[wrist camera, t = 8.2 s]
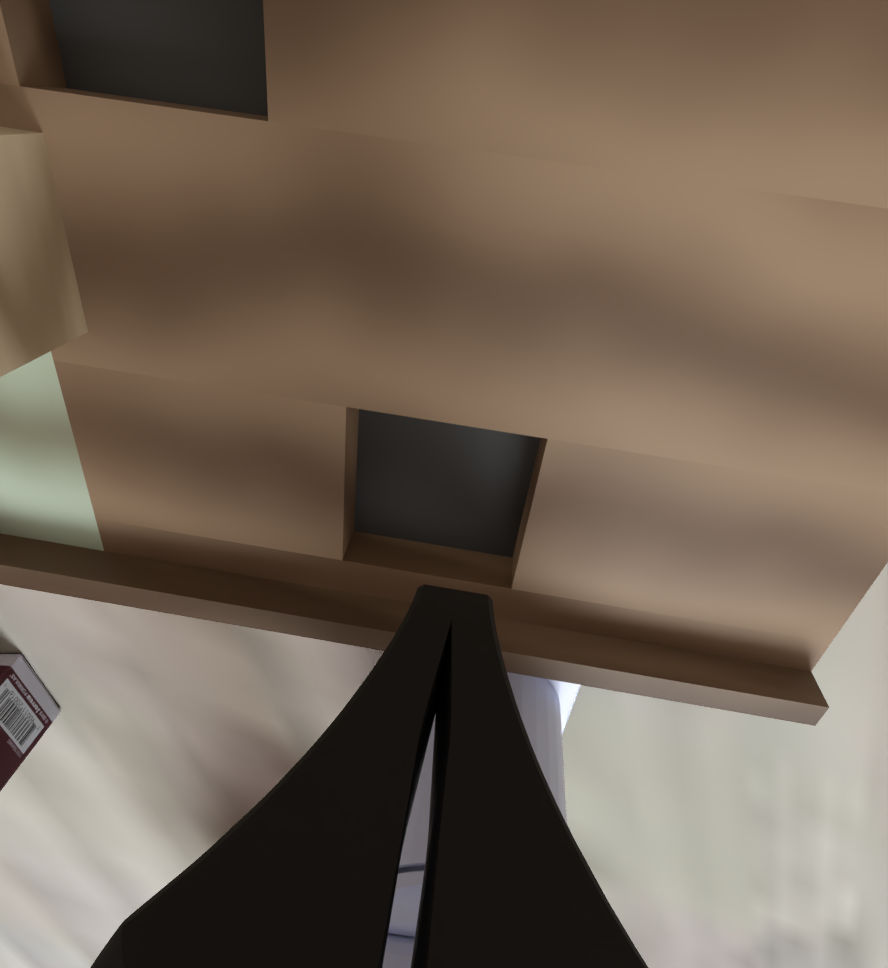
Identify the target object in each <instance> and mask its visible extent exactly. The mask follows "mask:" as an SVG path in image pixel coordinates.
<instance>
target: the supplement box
mask: <svg viewBox="0 0 888 968" xmlns="http://www.w3.org/2000/svg"><path fill="white" fill-rule="evenodd" d="M59 713H60V708H59V707H58V706H57V704H56V703H55V701H54V700H53V698H52V697H51V695H50V694H49V693H48V691H47V689H46V688H45V687H44V685H43V684H42V682H41V681H40V679H39V678H38V677H37V675H36V674H35V672H34V671H33V669H32V668H31V667H30V665H29V664H28V663H27V661H26V660H25V659H24V657H23V656H22V655H20V654H0V791H1V790H2V788H3V787H4V786H5V784H6V783H7V782H8V780H9V779H10V778H11V776H12V775H13V774H14V773H15V771H16V770H17V768H18V767H19V766H20V764H21V763H22V762H23V761H24V759H25V758H26V757H27V755H28V754H29V753H30V751H31V750H32V749H33V747H34V746H35V745H36V744H37V742H38V741H39V740H40V738H41V737H42V736H43V734H44V733H45V731H46V730H47V729H48V728H49V726H50V725H51V724H52V722H53V721H54V720H55V718H56V717H57V716H58V714H59Z"/></svg>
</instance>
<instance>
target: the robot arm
mask: <svg viewBox="0 0 888 968" xmlns="http://www.w3.org/2000/svg"><path fill="white" fill-rule="evenodd" d="M580 686H581V685H579V684H573V683H567V682H561V681H556V680H550V679H544V678H538V677H533V676H527V675H521V674H515V673H509V672H507V671H506V668H505V664H504V660H503V657H502V653H501V648H500V644H499V640H498V635H497V630H496V625H495V619H494V611H493V600H492V599H491V598H490V597H489V596H488V595H485V594H479V593H473V592H468V591H462V590H456V589H450V588H444V587H438V586H432V585H426V584H424V585H422V586H420V587H418V588H417V591H416V594H415V597H414V599H413V601H412V603H411V606H410V608H409V610H408V612H407V614H406V616H405V618H404V619H403V621H402V623H401V625H400V627H399V628H398V630H397V632H396V634H395V635H394V637H393V639H392V640H391V642H390V643H389V645H388V646H387V648H386V650H385V651H384V653H383V654H382V656H381V657H380V659H379V660H378V662H377V663H376V665H375V667H374V668H373V669H372V671H371V672H370V674H369V675H368V677H367V678H366V679H365V681H364V682H363V683H362V685H361V686H360V687H359V689H358V690H357V691H356V693H355V694H354V695H353V697H352V698H351V699H350V701H349V702H348V703H347V705H346V706H345V707H344V709H343V710H342V711H341V712H340V714H339V715H338V716H337V717H336V719H335V720H334V721H333V722H332V724H331V725H330V726H329V727H328V728H327V730H326V731H325V732H324V733H323V734H322V735H321V737H320V738H319V739H318V740H317V741H316V742H315V744H314V745H313V746H312V747H311V748H310V749H309V750H308V752H307V753H306V754H305V755H304V756H303V757H302V758H301V759H300V760H299V761H298V762H297V763H296V764H295V766H294V767H293V768H292V769H291V770H290V771H289V772H288V773H287V774H286V775H285V776H284V777H283V778H282V779H281V780H280V782H279V783H278V784H277V785H276V786H275V787H274V788H273V789H272V790H271V791H270V792H269V793H268V794H267V795H266V796H265V797H264V798H263V799H262V800H261V801H260V802H259V803H258V804H257V805H256V806H255V807H254V808H253V809H251V810H250V811H249V812H248V813H247V814H246V815H245V816H244V817H243V818H242V819H241V820H240V821H239V822H238V823H236V824H235V825H234V826H233V827H232V828H231V829H230V830H229V831H228V832H227V833H226V834H225V835H224V836H222V837H221V838H220V839H219V840H218V841H217V842H216V843H215V844H214V845H213V846H212V847H211V848H210V849H209V850H207V851H206V852H205V853H204V854H203V855H202V856H201V857H199V858H198V859H197V860H196V861H195V862H194V863H193V864H191V865H190V866H189V867H188V868H187V869H185V870H184V871H183V872H182V873H181V874H179V875H178V876H177V877H176V878H175V879H173V880H172V881H171V882H170V883H169V884H167V885H166V886H165V887H164V888H163V889H161V890H160V891H159V892H158V893H157V894H155V895H154V896H153V897H152V898H151V899H149V900H148V901H147V902H146V903H145V904H143V905H142V906H141V907H140V908H139V909H137V910H136V911H135V912H134V913H132V914H131V915H130V916H129V917H128V918H127V919H126V920H125V921H124V922H123V923H122V924H121V925H120V927H119V928H118V929H117V931H116V932H115V933H114V935H113V936H112V937H111V939H110V940H109V942H108V943H107V944H106V946H105V947H104V949H103V950H102V951H101V953H100V954H99V956H98V957H97V959H96V960H95V962H94V963H93V965H92V966H91V968H648V967H647V965H646V963H645V962H644V960H643V959H642V957H641V955H640V954H639V952H638V951H637V949H636V947H635V946H634V944H633V942H632V941H631V939H630V937H629V936H628V934H627V932H626V931H625V929H624V927H623V926H622V924H621V922H620V921H619V919H618V917H617V916H616V914H615V912H614V911H613V909H612V907H611V906H610V904H609V902H608V900H607V899H606V897H605V895H604V893H603V891H602V889H601V888H600V886H599V884H598V882H597V880H596V878H595V877H594V875H593V873H592V871H591V869H590V867H589V866H588V864H587V862H586V860H585V858H584V856H583V855H582V853H581V851H580V849H579V847H578V845H577V844H576V842H575V840H574V838H573V836H572V834H571V832H570V830H569V828H568V826H567V819H566V800H565V782H564V764H563V745H562V734H563V731H564V729H565V726H566V723H567V721H568V718H569V715H570V713H571V710H572V707H573V705H574V702H575V699H576V697H577V694H578V691H579V689H580Z"/></svg>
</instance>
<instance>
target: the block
mask: <svg viewBox="0 0 888 968" xmlns="http://www.w3.org/2000/svg"><path fill="white" fill-rule="evenodd" d="M87 332H88V329H87V325H86V321H85V316H84V312H83V307H82V303H81V298H80V294H79V289H78V285H77V280H76V276H75V272H74V267H73V263H72V258H71V254H70V249H69V245H68V240H67V236H66V232H65V227H64V223H63V218H62V214H61V209H60V205H59V200H58V196H57V191H56V187H55V183H54V178H53V174H52V169H51V165H50V160H49V156H48V151H47V147H46V143H45V138H44V134H43V133H41V132H34V131H27V130H20V129H14V128H7V127H0V377H2V376H4V375H6V374H8V373H9V372H11V371H13V370H15V369H17V368H19V367H21V366H23V365H25V364H27V363H29V362H31V361H33V360H35V359H37V358H39V357H40V356H42V355H44V354H46V353H48V352H50V351H52V350H54V349H56V348H58V347H60V346H62V345H64V344H66V343H68V342H70V341H71V340H73V339H75V338H77V337H79V336H81V335H83V334H85V333H87Z"/></svg>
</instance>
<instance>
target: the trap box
mask: <svg viewBox="0 0 888 968" xmlns="http://www.w3.org/2000/svg"><path fill="white" fill-rule="evenodd" d="M0 127H7V128H14V129H20V130H27V131H34V132H41V133H43V134H44V138H45V143H46V147H47V151H48V156H49V160H50V165H51V169H52V174H53V178H54V183H55V187H56V191H57V196H58V200H59V205H60V209H61V214H62V218H63V223H64V227H65V232H66V236H67V240H68V245H69V249H70V254H71V258H72V263H73V267H74V272H75V276H76V280H77V285H78V289H79V294H80V298H81V303H82V307H83V312H84V316H85V321H86V325H87V329H88V332H87V333H85V334H83V335H81V336H79V337H77V338H75V339H73V340H71V341H70V342H68V343H66V344H64V345H62V346H60V347H58V348H56V349H54V350H52V351H50V352H48V353H46V354H44V355H42V356H40V357H39V358H37V359H35V360H33V361H31V362H29V363H27V364H25V365H23V366H21V367H19V368H17V369H15V370H13V371H11V372H9V373H8V374H6V375H4V376H2V377H0V584H3V585H9V586H14V587H20V588H26V589H32V590H38V591H43V592H49V593H55V594H61V595H66V596H72V597H78V598H84V599H89V600H95V601H101V602H107V603H112V604H118V605H124V606H130V607H135V608H141V609H147V610H153V611H158V612H164V613H170V614H176V615H181V616H187V617H193V618H199V619H204V620H210V621H216V622H222V623H227V624H233V625H239V626H245V627H250V628H256V629H262V630H268V631H273V632H279V633H285V634H291V635H297V636H302V637H308V638H314V639H320V640H325V641H331V642H337V643H343V644H348V645H354V646H360V647H366V648H371V649H377V650H383V651H385V650H386V648H387V646H388V645H389V643H390V642H391V640H392V639H393V637H394V635H395V634H396V632H397V630H398V628H399V627H400V625H401V623H402V621H403V619H404V618H405V616H406V614H407V612H408V610H409V608H410V606H411V603H412V601H413V599H414V597H415V594H416V591H417V588H418V587H420V586H422V585H424V584H426V585H432V586H438V587H444V588H450V589H456V590H462V591H468V592H473V593H479V594H485V595H488V596H489V597H490V598H491V599H492V600H493V611H494V619H495V625H496V630H497V635H498V640H499V644H500V648H501V653H502V657H503V660H504V664H505V668H506V671H507V672H509V673H515V674H521V675H527V676H533V677H538V678H544V679H550V680H556V681H561V682H567V683H573V684H579V685H584V686H590V687H596V688H602V689H607V690H613V691H619V692H625V693H630V694H636V695H642V696H648V697H653V698H659V699H665V700H671V701H676V702H682V703H688V704H694V705H699V706H705V707H711V708H717V709H722V710H728V711H734V712H740V713H745V714H751V715H757V716H763V717H768V718H774V719H780V720H786V721H792V722H797V723H803V724H809V725H816V724H817V723H818V721H819V720H820V719H821V717H822V716H823V715H824V714H825V712H826V711H827V710H828V708H829V706H828V704H827V702H826V700H825V698H824V696H823V694H822V692H821V690H820V688H819V686H818V684H817V682H816V680H815V678H814V676H813V674H812V672H811V671H812V669H813V668H814V666H815V665H816V664H817V662H818V661H819V659H820V658H821V656H822V655H823V654H824V652H825V651H826V649H827V648H828V646H829V645H830V644H831V642H832V641H833V639H834V638H835V636H836V635H837V634H838V632H839V631H840V629H841V628H842V626H843V625H844V624H845V622H846V621H847V619H848V618H849V616H850V615H851V614H852V612H853V611H854V609H855V608H856V606H857V605H858V604H859V602H860V601H861V599H862V598H863V596H864V595H865V594H866V592H867V591H868V589H869V588H870V586H871V585H872V584H873V582H874V581H875V579H876V578H877V576H878V575H879V574H880V572H881V571H882V569H883V568H884V566H885V565H886V564H887V562H888V0H0Z"/></svg>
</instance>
